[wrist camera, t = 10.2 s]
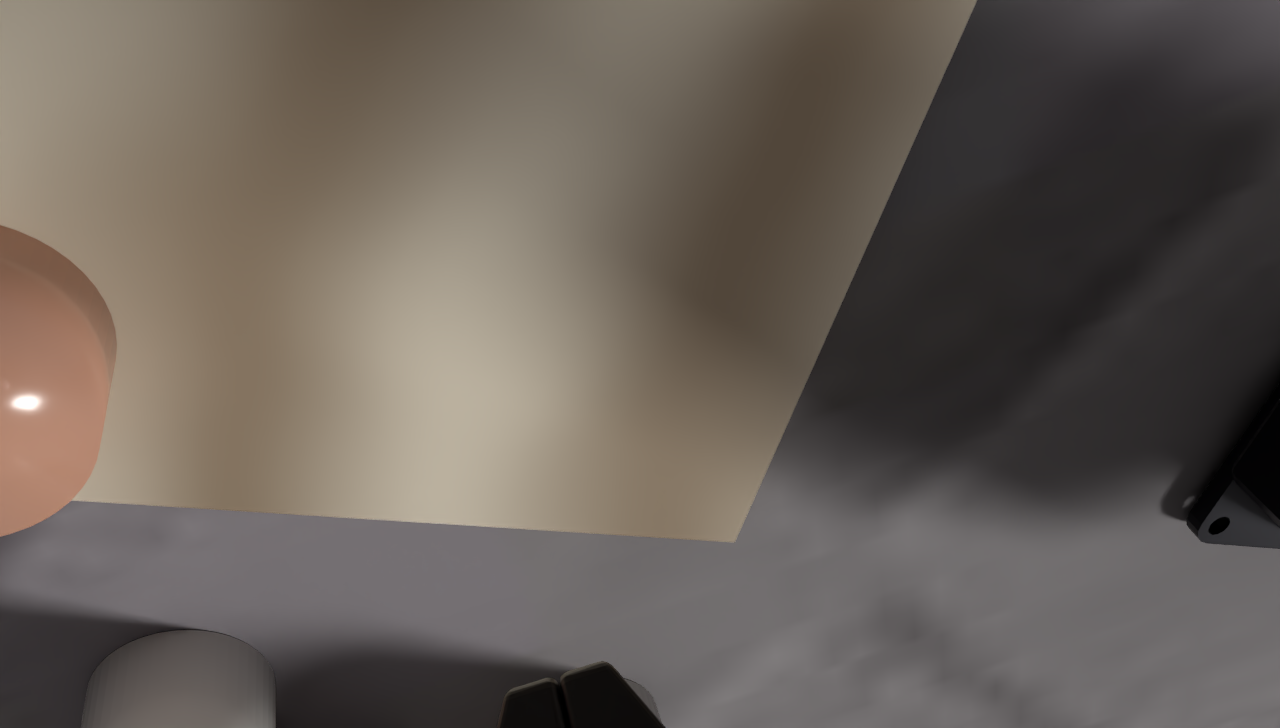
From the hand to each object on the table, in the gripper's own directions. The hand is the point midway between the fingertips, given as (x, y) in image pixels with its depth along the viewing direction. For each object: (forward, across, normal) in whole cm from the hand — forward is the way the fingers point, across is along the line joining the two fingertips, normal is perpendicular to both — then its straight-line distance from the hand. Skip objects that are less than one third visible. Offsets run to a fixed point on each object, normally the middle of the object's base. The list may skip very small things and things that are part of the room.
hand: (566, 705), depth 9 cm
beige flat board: (+10, +1, -1) cm, 10 cm away
